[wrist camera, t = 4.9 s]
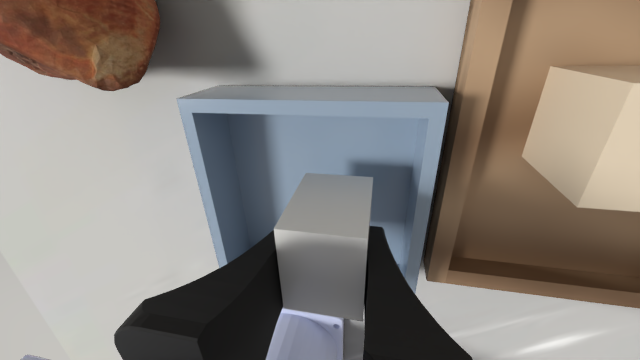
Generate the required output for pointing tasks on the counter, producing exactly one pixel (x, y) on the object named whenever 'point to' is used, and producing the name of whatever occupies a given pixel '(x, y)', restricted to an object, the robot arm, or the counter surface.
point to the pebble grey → (325, 245)
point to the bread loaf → (81, 38)
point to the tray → (515, 172)
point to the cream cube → (589, 135)
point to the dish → (314, 156)
